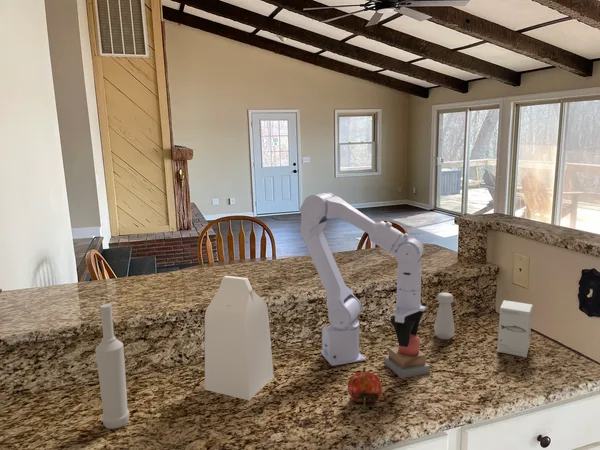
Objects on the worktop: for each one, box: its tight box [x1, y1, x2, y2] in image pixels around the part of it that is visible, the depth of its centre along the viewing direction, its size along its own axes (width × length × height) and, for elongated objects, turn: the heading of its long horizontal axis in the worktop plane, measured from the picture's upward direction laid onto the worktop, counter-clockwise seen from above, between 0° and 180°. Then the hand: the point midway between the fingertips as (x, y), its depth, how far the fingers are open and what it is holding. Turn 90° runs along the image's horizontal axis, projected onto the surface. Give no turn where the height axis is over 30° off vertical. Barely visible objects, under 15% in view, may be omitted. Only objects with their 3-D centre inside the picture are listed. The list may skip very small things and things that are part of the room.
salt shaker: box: [433, 291, 456, 340], centre depth 132 cm, size 6×6×13 cm
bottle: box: [95, 303, 130, 430], centre depth 92 cm, size 5×5×25 cm
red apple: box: [347, 366, 383, 413], centre depth 99 cm, size 7×7×10 cm
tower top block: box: [388, 346, 427, 369], centre depth 114 cm, size 6×6×2 cm
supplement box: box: [496, 299, 534, 358], centre depth 122 cm, size 7×7×13 cm
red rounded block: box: [398, 334, 421, 356], centre depth 114 cm, size 5×5×4 cm
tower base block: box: [384, 355, 431, 379], centre depth 114 cm, size 8×8×2 cm
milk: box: [204, 275, 275, 401], centre depth 107 cm, size 12×12×26 cm
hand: (407, 340), depth 113 cm, fingers open, 6 cm apart
